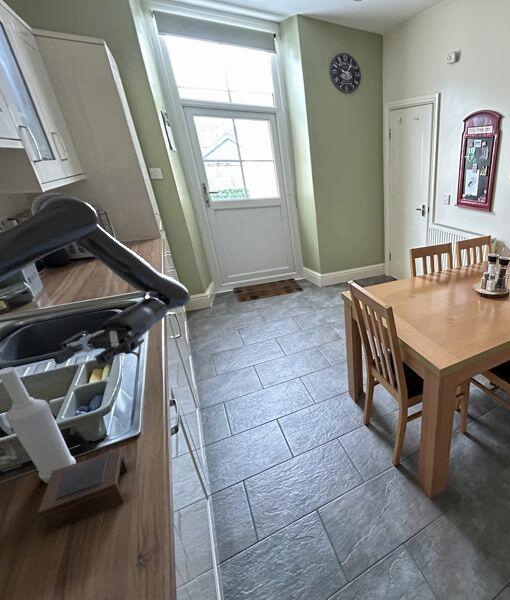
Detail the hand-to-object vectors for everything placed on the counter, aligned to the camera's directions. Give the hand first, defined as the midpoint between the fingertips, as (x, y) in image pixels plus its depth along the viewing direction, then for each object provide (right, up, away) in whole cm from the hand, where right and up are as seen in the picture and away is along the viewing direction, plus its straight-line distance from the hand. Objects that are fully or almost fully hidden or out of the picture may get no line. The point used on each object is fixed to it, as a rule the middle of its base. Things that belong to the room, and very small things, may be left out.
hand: (77, 360), depth 69 cm
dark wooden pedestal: (+10, -24, -7) cm, 27 cm away
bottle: (0, -22, -3) cm, 22 cm away
